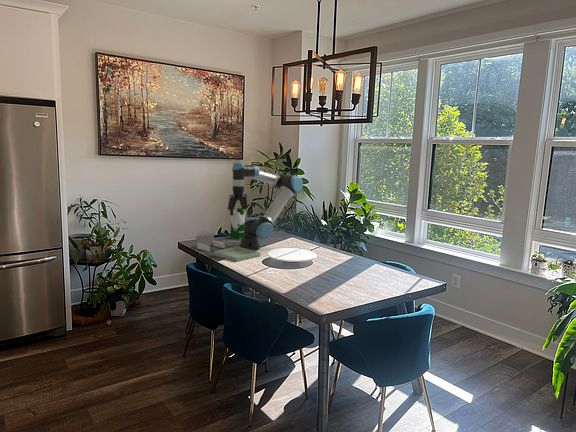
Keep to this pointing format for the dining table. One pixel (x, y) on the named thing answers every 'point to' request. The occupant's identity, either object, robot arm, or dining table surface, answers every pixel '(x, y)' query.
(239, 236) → the soya milk
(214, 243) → the dock
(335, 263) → the dining table surface
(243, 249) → the tray
